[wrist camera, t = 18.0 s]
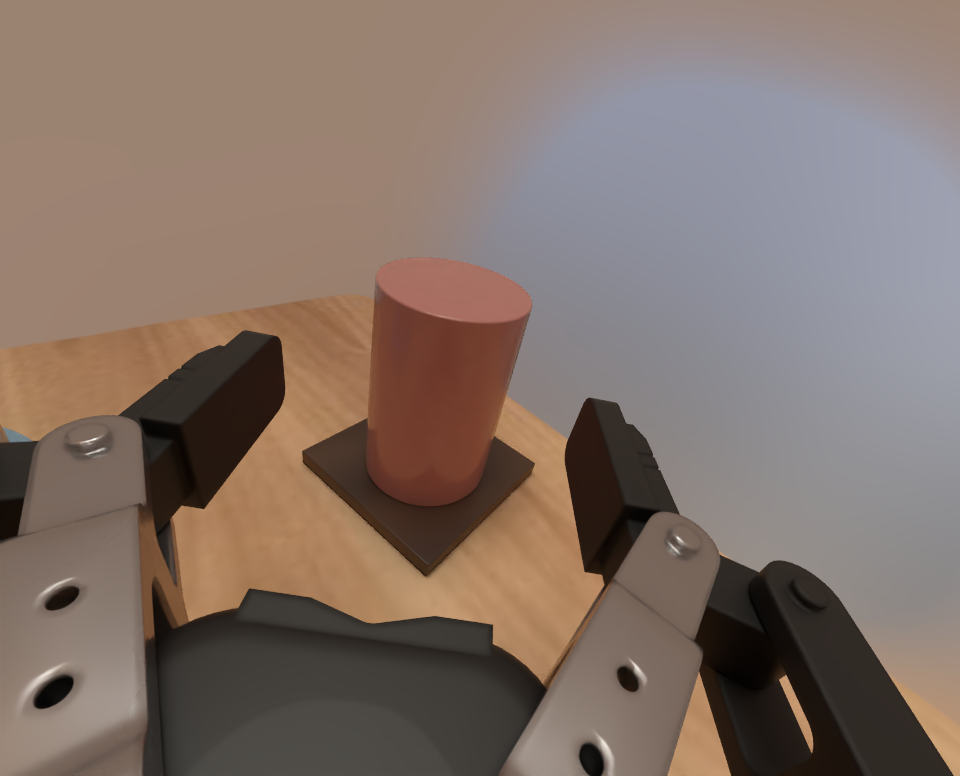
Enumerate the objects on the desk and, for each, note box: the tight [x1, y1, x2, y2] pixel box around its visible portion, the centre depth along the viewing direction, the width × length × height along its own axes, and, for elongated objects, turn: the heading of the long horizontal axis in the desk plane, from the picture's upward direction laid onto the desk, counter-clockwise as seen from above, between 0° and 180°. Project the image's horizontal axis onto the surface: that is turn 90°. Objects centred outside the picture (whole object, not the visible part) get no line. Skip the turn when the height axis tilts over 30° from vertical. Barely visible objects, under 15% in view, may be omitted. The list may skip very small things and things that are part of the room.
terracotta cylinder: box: [365, 258, 532, 507], centre depth 19 cm, size 6×6×10 cm
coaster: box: [302, 419, 535, 575], centre depth 22 cm, size 9×9×1 cm
